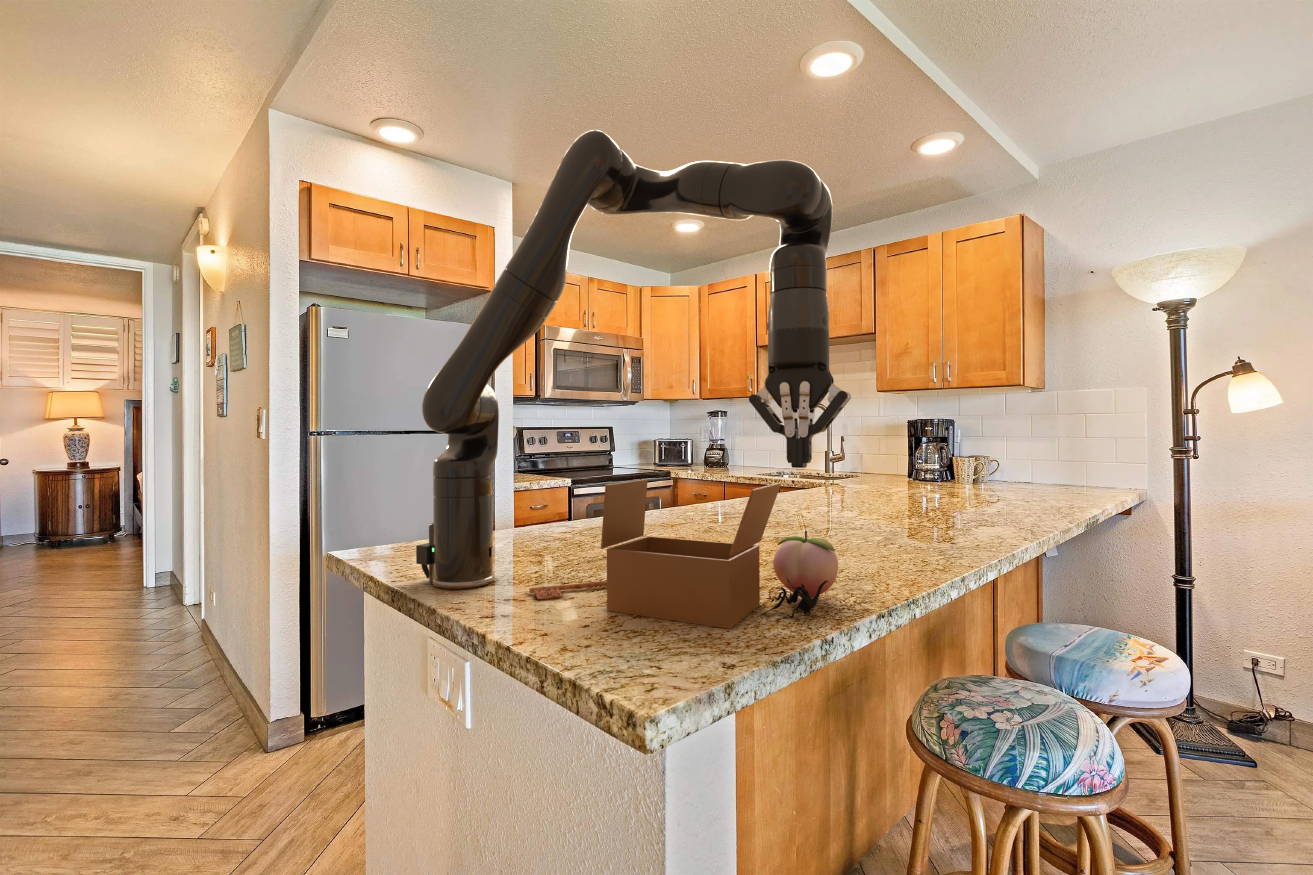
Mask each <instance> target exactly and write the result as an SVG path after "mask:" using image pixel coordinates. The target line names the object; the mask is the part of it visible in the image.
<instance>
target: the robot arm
mask: <svg viewBox="0 0 1313 875" xmlns="http://www.w3.org/2000/svg"><path fill="white" fill-rule="evenodd" d="M831 195H832V194H831V192H830V189H829V188H828V186H827V185H826V184H825V183H824V181H823V180H822V178H820V177H819V176H818V175H817V173H816V171H815V170H814V169H812V167H810V166H809V165H807V164H805V163H803V162H800V161H795V160H789V159H773V160H766V161H758V162H753V163H748V164H745V163H738V162H728V161H718V160H717V161H715V160H700V161H699V160H698V161H694V162H690V163H687V164H684V165H682V166H679V167H677V168H675V169H672V170H667V171H662V170H661V171H660V170H654V169H649V168H646V167H644V166H640V165H639V164H635V163H634V162H633V160H632V158H630V157H629V155H628V154H627V153H626V152H625V151H623V149H622V148H621V147H620V146H619V145H618V144H617V143H616V142H615V141H614V140H613V139H612V138H611V136H609V135H608V134H607V133H605V132H604V131H601V130H598V129H591V130H589V131H586V132H584V133H582V134H580V135H579V136H578V137H577V138H575V140H574V142H573V143H572V144H571V145H570V146H569V148H568V149H567V150H566V151H565V154H564V156H563V157H562V159H561V161H560V163H559V165H558V167H557V169H556V172H555V174H554V176H553V178H552V180H551V182H550V184H549V186H548V188H547V191H546V193H545V195H544V198H543V199H542V202H541V204H540V206H539V207H538V210H537V212H536V214H535V216H534V217H533V220H532V221H531V223H530V225H529V226H528V229H527V230H526V232H525V234H524V235H523V238H522V239H521V241H520V243H519V244H518V246H517V248H516V249H515V251H514V253H513V254H512V256H511V258H510V259H509V261H508V262H507V263H506V265H505V267H504V269H503V271H502V272H501V274H500V275H499V277H498V279H497V280H496V282H495V284H494V285H493V287H492V289H491V291H490V293H489V295H488V297H487V299H486V300H485V302H484V304H483V306H482V307H481V309H480V310H479V312H478V313H477V315H476V317H475V318H474V320H473V322H471V324H470V327H469V328H468V330H467V331H466V333H465V335H464V336H463V338H462V340H460V343H458V346H457V347H456V348H455V350H454V351H453V353H452V354H451V355H450V356H449V357H448V359H447V360H446V361H445V363H444V364H443V365H442V367H441V368H440V370H439V371H438V372H437V374H436V375H435V376H434V377H433V379H432V380H431V382H430V383H429V385H428V387H427V388H426V390H425V392H424V395H423V398H422V404H421V413H422V417H423V420H424V422H425V424H426V425H427V427H428V428H429V429H430V430H432V431H433V432H436V433H438V434H439V433H440V434H444V435H447V444H446V447H445V450H444V451H443V452H442V453H441V454H440V455H439V456H438V457H436V458H435V459H434V461H433V464H432V482H433V483H432V495H433V496H432V497H433V498H432V500H433V502H432V504H433V510H432V511H433V514H432V515H433V520H432V521H433V522H432V523H429V526H428V542H427V543H421V544H417V545H415V559H416V560H415V564H416V565H420V566H421V570H422V572H423V574H424V575H425V577H426V579H428V581H429V584H432V585H433V586H434V587H437V588H440V589H449V590H458V589H459V590H460V589H472V588H478V587H483V586H485V585H489V584H491V583H492V582H494V580H495V579H494V578H495V577H494V576H495V574H494V556H495V554H496V545H495V544H494V495H493V492H494V491H493V489H494V487H493V486H494V484H493V479H494V478H493V470H494V465H495V462H496V459H497V456H498V446H499V426H500V425H499V424H500V409H499V402H498V398H497V394H496V393H495V390H494V389H493V388H492V387H491V386H490V384H488V383H489V381H490V380H491V378H492V377H493V375H494V373H495V372H496V371H497V369H498V368H499V367H500V366H501V364H502V363H503V362H504V361H505V360H507V358H509V357H510V356H511V355H512V354H513V353H514V352H516V351H517V350H518V349H519V348H521V347H522V346H523V345H524V344H525V343H526V342H528V341H529V340H530V339H531V338H533V336H535V334H536V333H538V331H539V330H540V329H541V327H542V326H543V325H544V324H545V322H546V321H547V319H548V318H549V316H550V315H551V313H552V311H553V309H554V308H555V306H556V305H557V303H558V301H559V300H560V298H561V297H562V294H563V292H564V290H565V285H566V280H567V275H568V274H567V273H568V265H569V256H570V255H569V253H570V246H571V245H570V244H571V241H572V236H573V233H574V230H575V228H576V226H577V223H578V222H579V220H580V218H581V216H582V215H583V213H584V210H585V209H586V207H587V206H588V205H589V207H591V208H592V209H593V210H595V211H597V212H598V213H601V214H603V215H630V214H631V215H633V214H655V213H658V214H659V213H660V214H663V213H669V214H671V213H673V214H686V215H693V216H694V215H695V216H701V217H702V216H703V217H708V218H717V219H724V220H730V221H745V220H749V218H751V217H753V216H754V217H762V218H767V219H770V220H775V221H776V222H777V223H779V231H780V232H779V234H780V236H779V243H778V244H779V245H778V247H777V248H776V249H775V250H774V251H773V252H772V253H771V257H770V260H769V302H768V310H767V322H766V331H767V370H768V372H767V374H766V377H765V380H764V386H763V387H762V388H761V389H760V390H758V391H757V392H756V393H755V394H753V393H752V394H750V396H749V397H748V402H749V403H750V405H751V406H752V407H753V408H754V409H755V411H756V412H757V414H758V415H759V416H760V417H761V419H762V420H763V421H764V422H765V423H766V425H767V426H768V428H769V429H770V430H771V432H773V433H776V434H779V435H782V436H784V437H785V439H786V440H785V441H786V461H787V463H788V464H790V465H791V468H792V469H794V468H795V469H804V468H805V469H806V468H807V467H808V464H810V463H811V462H812V459H813V454H812V453H813V440H812V439H813V437H814V436H816V435H818V434H820V433H824V432H826V430H827V429H829V427H830V426H831V424H832V423H833V422H834V420H835V419H836V418H837V416H839V414H840V413H841V411H843V409H844V408H845V406H846V405H847V404H848V402H849V401H850V400H851V398H852V395H851V394H850V392H849V391H845V390H843V389H842V388H840V387H839V386H837V385H836V384H835V383H834V382H835V380H834V377H833V375H832V374H831V370H830V308H829V301H828V293H827V292H828V281H827V280H828V279H827V278H828V277H827V276H828V275H827V274H828V272H827V270H828V268H827V253H828V248H829V244H830V238H831V231H832V224H833V201H832V196H831ZM828 393H829V395H828V397H827V402H828V403H829V404H828V405H827V406H826V407H825V409H824V410H823V411H822V413H821V414H820V415H819V416H818V418H817V419H816V421H815V422H814V420H815V416H816V415H815V414H816V409H817V408H818V407H819V406H820V404H821V403H822V402H823V400H824V399H825V397H826V396H827V394H828ZM770 396H771V398H772V399H773V400H774V402H775V403H776V404H777V406H778V407H779V408H780V409H781V415H782V419H783V421H782V420H781V419H780V417H779V416H778V415H777V413H776V412H775V411H774V409H773V408H772V407H771V406H770V405H771V404H772V399H771V398H770Z"/></svg>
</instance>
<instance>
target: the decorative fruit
mask: <svg viewBox="0 0 1313 875" xmlns="http://www.w3.org/2000/svg"><path fill="white" fill-rule="evenodd" d="M777 546H779V547H777V550H776V552H775V553H774V557H773V562H772V565H773V572H774V573H775V576H776V577H777V579H778V581H779V582H780V583H781V584H782V585H783V586H784V588H785V589H787V590H789V592H790V591H791V593H792V594H793V593H794V591H795V589H793V588H792V586H793V587H798V586H801V584H803V585H804V586H805V589H806V590H807V591H808V593H809V596H810V598H811V599H812V598H814V597H815V596H816V594H817V590H818V587H819V586H820V585H821V584H822V583H823V582H824V581H828V582H826V583H825V584H824V585H823V587H822V589H821V593H820V595H822V594H824V593H825V592H827V591H828V590H829V589H831V587H832V586H833V585H834V584H835V581H836V579H837V576H838V573H839V572H838V570H839V560H838V559H839V558H838V556H837V554H836V550H835V547H834V545H833V544H832V543H831V542H829V540H827V539H825V538H821V537H811V538H808V531H807V530H804V537H802V536H798V535H794V536H793V535H792V536H787V537H782V538H781V539H780V540H779V541H778V543H777ZM786 577H787V578H788V580H789V581H790V582H789V584H788V580H787V578H786ZM790 583H791V584H790ZM791 585H792V586H791ZM789 587H790V588H789ZM801 587H802V586H801ZM800 592H801V593H802V591H800ZM802 594H803V593H802ZM798 598H801V599H802V597H801V596H800V594H799V593H798Z"/></svg>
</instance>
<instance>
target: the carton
mask: <svg viewBox="0 0 1313 875" xmlns="http://www.w3.org/2000/svg"><path fill="white" fill-rule="evenodd" d="M648 480H649V479H647V478H646V479H645V478H643V479H638V480H630V481H623V482H616V483H609V484H605V485H604V499H603V512H602V526H601V539H600V540H601V541H600V549H605V548H606V580H607V586H606V611H608V612H614V613H622V614H628V615H635V616H642V617H648V618H655V619H661V620H668V621H674V622H681V623H688V624H694V625H695V624H696V625H702V626H709V627H714V628H715V627H716V628H721V629H728V630H730V629H732V628H733V627H734V626H735V625H737V624H738V623H740V622H741V621H742V620H743V619H745V617H747V616H748V615H749V614H751V613H752V612H753V611H754V610H755V609H757V608H758V607H759V606H760V604H761V603H760V601H761V600H760V599H761V597H760V594H761V591H760V588H761V587H760V585H761V584H760V582H761V581H760V577H761V576H760V573H761V572H760V545H759V544H754V545H752V546H750V547H748V548H746V549H744V550H742V551H740V552H738V553H736V554H734V555H732V556H730V555H729V554H730V551H731V548H732V545H733V542H723V541H711V540H699V539H687V538H686V539H685V538H674V537H665V536H664V537H662V536H650V535H648V536H647V535H646V536H644V534H645V521H646V520H645V519H646V508H647V507H646V506H647V495H648V494H647V493H648Z"/></svg>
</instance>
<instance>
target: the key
mask: <svg viewBox="0 0 1313 875" xmlns="http://www.w3.org/2000/svg"><path fill="white" fill-rule="evenodd" d="M598 587H599V588H601V587H607V579H606V580H600V581H597V580H596V581H589V582H580V583H579V582H578V583H571V584H570V583H569V584H568V583H567V584H560V585H549V586H539V587H538V586H537V587H530V588H529V589H528V590H529V594H535V596H536V598H537V600H544V599H545V600H546V599H556V598H563V593H562V592H561V591H567V590H568V591H569V590H578V589H588V588H590V589H592V588H598Z"/></svg>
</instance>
